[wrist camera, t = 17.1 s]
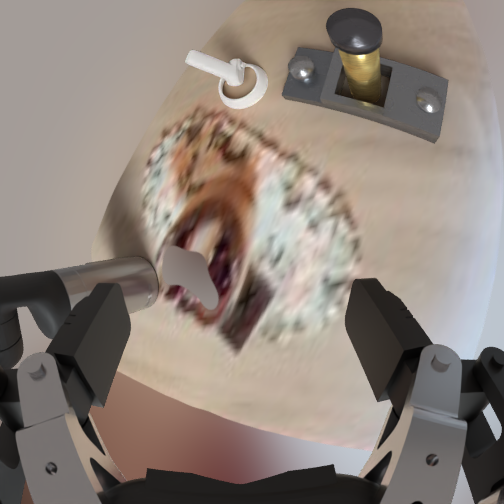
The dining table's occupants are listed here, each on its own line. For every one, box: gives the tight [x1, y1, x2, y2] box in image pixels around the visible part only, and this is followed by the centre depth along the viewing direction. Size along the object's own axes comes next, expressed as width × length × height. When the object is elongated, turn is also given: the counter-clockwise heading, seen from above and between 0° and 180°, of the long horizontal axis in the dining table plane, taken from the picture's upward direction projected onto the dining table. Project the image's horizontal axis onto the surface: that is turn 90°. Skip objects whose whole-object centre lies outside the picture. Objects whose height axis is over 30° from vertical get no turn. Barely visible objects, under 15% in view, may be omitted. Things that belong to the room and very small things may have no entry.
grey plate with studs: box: [282, 47, 448, 144], centre depth 28 cm, size 20×8×3 cm, turn 72°
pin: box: [326, 8, 382, 104], centre depth 23 cm, size 5×5×14 cm
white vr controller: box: [185, 50, 268, 109], centre depth 34 cm, size 8×12×7 cm
